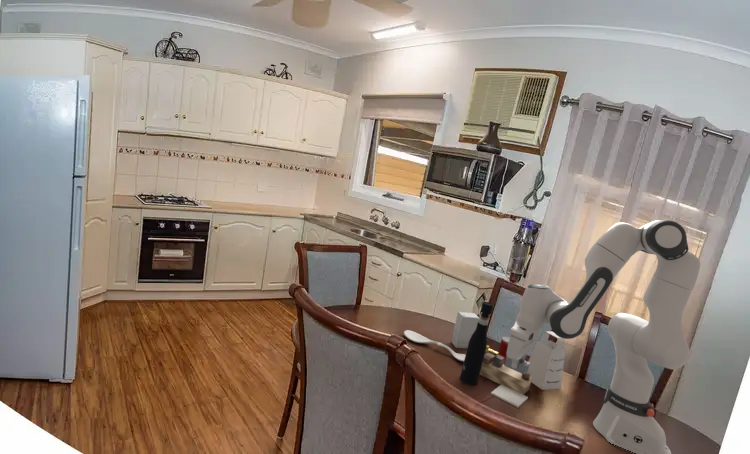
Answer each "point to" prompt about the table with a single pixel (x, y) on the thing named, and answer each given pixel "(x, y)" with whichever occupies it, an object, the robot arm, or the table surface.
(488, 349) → the latch bar
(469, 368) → the wine bottle
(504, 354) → the canned food
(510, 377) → the plane body
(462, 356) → the spoon
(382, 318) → the table surface
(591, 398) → the table surface
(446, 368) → the table surface
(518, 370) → the grey metal block
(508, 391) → the felt mat
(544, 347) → the grater
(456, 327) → the skincare box
